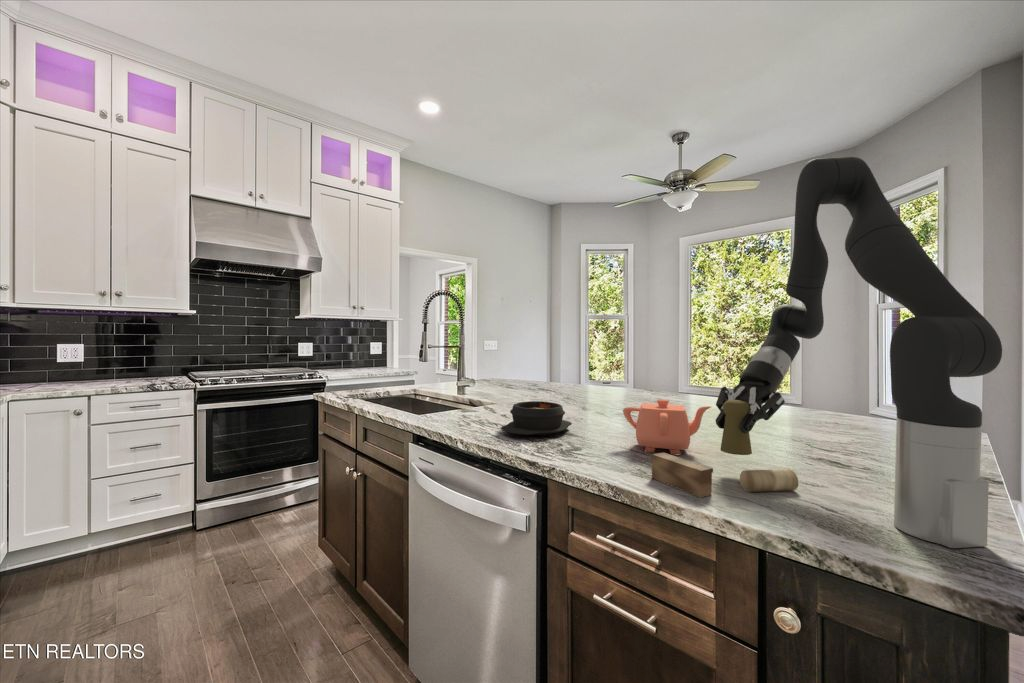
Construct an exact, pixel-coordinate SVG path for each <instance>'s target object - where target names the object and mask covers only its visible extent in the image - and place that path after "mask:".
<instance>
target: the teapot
mask: <svg viewBox="0 0 1024 683" xmlns="http://www.w3.org/2000/svg"><path fill="white" fill-rule="evenodd" d="M669 402H670V400H668V399H656V403H645V402H643V403H641V404H640V407H634V406H627V407H624V408H623V409H622V412H623V415H624V418H625V419H626V420H627V422H628V423H629V424H630V425H631V426H632V427H633V428H634V429H635V438H636V441H637V444H638V446H640V447H645V448H644V450H643V452H645V451H646V452H645V453H649V452H653V453H656V452H655V451H656V449H667V450H669V453H670V454H671V453H672V454H671V455H673V454H681V455H682V453H681V450H688V449H689V447H690V443H691V436H694V435H695V434H696V433H698V431H699V429H700V427H701V424H702V419H703V415H704V413H705V412H706V411H707V410H710V409H711V408H712V407H713V406H710V405H709V406H706V405H705V406H700V407H699V408H698V409H697V410H696V413H695V416H694V419H692V421H691V422H689V418H688V413H687V410H686V408H685V407H684V405H678V404H669ZM632 412H638V415H637V420H636V422H635V420H634V419H633V416H632V414H631V413H632Z"/></svg>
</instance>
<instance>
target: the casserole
mask: <svg viewBox="0 0 1024 683" xmlns="http://www.w3.org/2000/svg"><path fill="white" fill-rule="evenodd" d="M509 412H510V414H511V416H512V421H511V422H509V423H507V424H505V425H502V426H501V427H500V430H501V431H504V432H507V433H509V434H514V435H515V434H516V435H521V436H522V435H524V436H534V435H545V436H550V435H554V434H557V433H560V432H563V431H566V430H567V429H568V428H569V427H570V426H571V425H573V423H572V422H570V421H569V420H564V419H563V417H564V415H565V414H566V411H565V410H564V409H563V405H562V404H559V403H556V402H549V401H539V400H538V401H535V400H531V401H530V400H529V401H521V402H517V403H514V404H513V405H512V408H511V409H510V410H509Z"/></svg>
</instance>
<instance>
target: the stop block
mask: <svg viewBox="0 0 1024 683" xmlns="http://www.w3.org/2000/svg"><path fill="white" fill-rule="evenodd" d="M651 454H652V456H651V457H652V458H651V479H653V478H654V479H653V480H655V479H656V481H658V482H660V481H661V483H663V484H665V483H666V484H665V485H668V484H669V485H668V486H670V485H672V486H671V487H673V486H674V487H673V488H675V487H677V488H676V489H678V488H679V489H678V490H680V489H682V490H681V491H683V490H684V491H683V492H685V491H687V492H686V493H688V492H689V493H688V494H690V493H691V494H690V495H693V496H695V495H696V496H695V497H698V498H705V497H704V496H706V497H709V495H710V496H712V489H713V488H712V484H713V483H712V482H713V481H712V480H713V479H712V478H713V477H712V476H713V473H714V468H713V467H709V466H707V465H704V464H700V463H697V462H695V461H691V460H688V459H686V458H682V457H679V456H677V455H673V454H671V453H670V454H669V453H666V452H659V453H651Z"/></svg>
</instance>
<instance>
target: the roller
mask: <svg viewBox="0 0 1024 683" xmlns="http://www.w3.org/2000/svg"><path fill="white" fill-rule="evenodd" d="M739 483H740V485H741V487H742V489H743V490H744V489H745V491H746V492H748V493H757V492H758V493H759V492H760V493H761V492H763V491H764V492H788V491H789V492H790V491H796V490H797V489H798V487H799V478H798V476H797V474H796V472H795V471H794V470H793V469H790V468H786V469H785V468H784V469H778V468H777V469H776V468H775V469H750V470H749V469H747V470H744V469H743V470H742V471H741V472H740V473H739Z"/></svg>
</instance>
